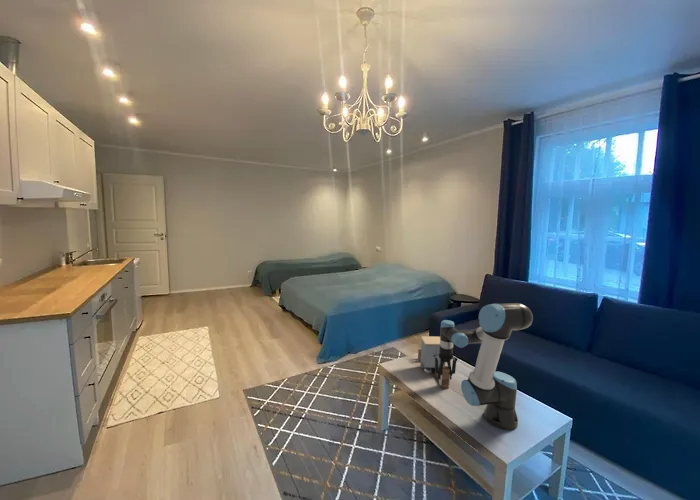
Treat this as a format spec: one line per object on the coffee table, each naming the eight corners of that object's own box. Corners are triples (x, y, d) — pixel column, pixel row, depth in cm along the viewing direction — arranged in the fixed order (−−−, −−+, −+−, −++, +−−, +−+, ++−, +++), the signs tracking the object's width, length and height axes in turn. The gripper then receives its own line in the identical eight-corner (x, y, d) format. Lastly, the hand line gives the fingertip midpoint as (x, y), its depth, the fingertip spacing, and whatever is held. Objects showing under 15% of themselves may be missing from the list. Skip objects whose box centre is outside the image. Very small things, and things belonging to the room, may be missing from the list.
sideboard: (445, 376, 188) (447, 344, 186) (424, 376, 188) (425, 344, 186) (439, 366, 201) (441, 336, 198) (419, 365, 201) (420, 336, 198)
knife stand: (447, 361, 207) (448, 352, 207) (419, 361, 207) (419, 351, 206) (445, 358, 211) (446, 349, 210) (417, 358, 211) (418, 349, 210)
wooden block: (448, 388, 174) (449, 369, 173) (441, 388, 174) (442, 369, 173) (439, 373, 191) (440, 355, 190) (433, 373, 191) (434, 355, 190)
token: (432, 373, 191) (432, 371, 191) (425, 373, 191) (425, 371, 191) (430, 369, 196) (430, 367, 196) (423, 369, 196) (423, 367, 196)
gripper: (458, 344, 177) (456, 380, 180) (430, 343, 177) (428, 380, 180) (463, 349, 170) (460, 387, 173) (433, 349, 170) (431, 387, 172)
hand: (444, 384), depth 176 cm, fingers closed on wooden block, 4 cm apart
